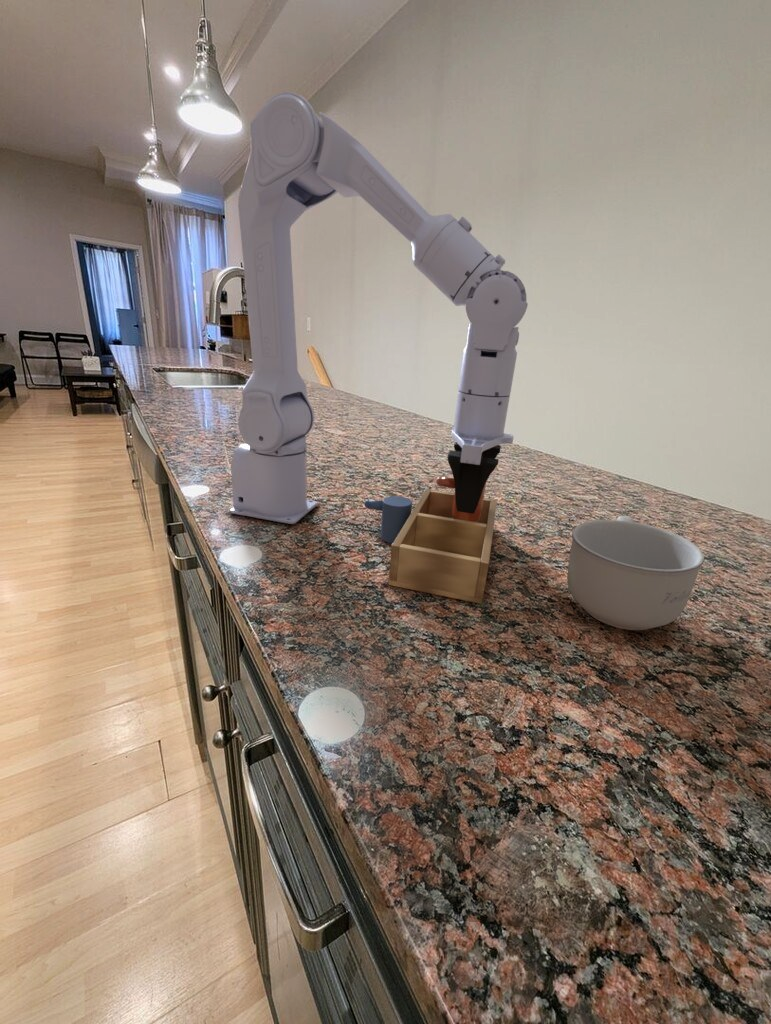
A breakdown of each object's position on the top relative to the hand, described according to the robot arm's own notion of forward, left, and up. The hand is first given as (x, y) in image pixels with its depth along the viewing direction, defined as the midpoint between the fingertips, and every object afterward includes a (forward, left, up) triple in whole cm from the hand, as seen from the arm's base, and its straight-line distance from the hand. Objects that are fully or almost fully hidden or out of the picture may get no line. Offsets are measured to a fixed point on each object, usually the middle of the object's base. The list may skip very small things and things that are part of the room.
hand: (467, 505), depth 55 cm
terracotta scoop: (-1, 0, -1) cm, 2 cm away
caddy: (-1, -4, -5) cm, 7 cm away
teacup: (+17, -8, -5) cm, 19 cm away
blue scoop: (-10, -2, -5) cm, 11 cm away
